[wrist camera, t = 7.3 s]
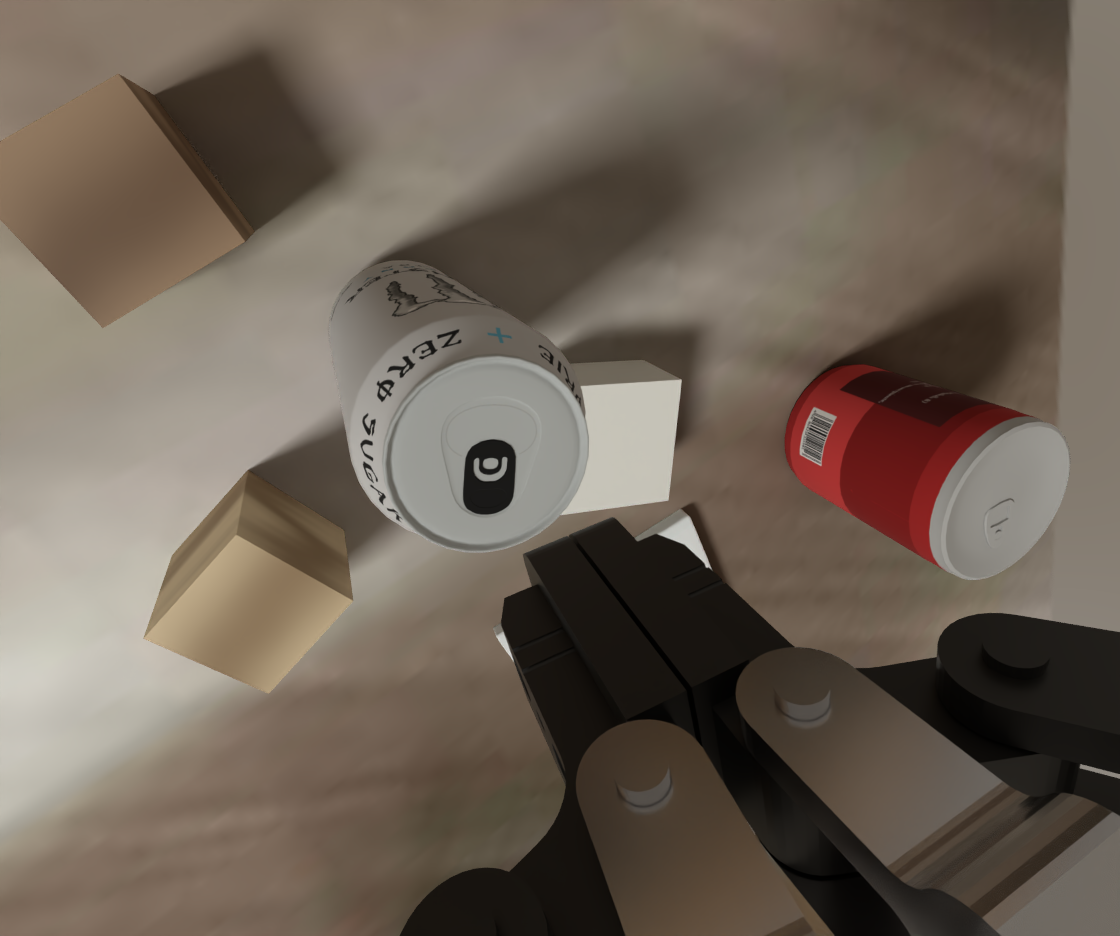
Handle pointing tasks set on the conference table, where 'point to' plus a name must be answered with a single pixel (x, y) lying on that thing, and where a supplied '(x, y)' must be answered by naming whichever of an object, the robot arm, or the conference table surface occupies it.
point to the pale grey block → (626, 434)
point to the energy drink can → (454, 409)
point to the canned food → (929, 466)
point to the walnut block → (114, 199)
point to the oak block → (253, 585)
